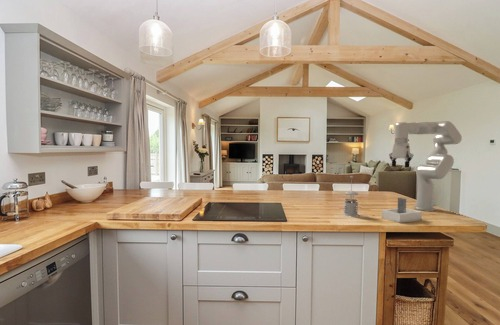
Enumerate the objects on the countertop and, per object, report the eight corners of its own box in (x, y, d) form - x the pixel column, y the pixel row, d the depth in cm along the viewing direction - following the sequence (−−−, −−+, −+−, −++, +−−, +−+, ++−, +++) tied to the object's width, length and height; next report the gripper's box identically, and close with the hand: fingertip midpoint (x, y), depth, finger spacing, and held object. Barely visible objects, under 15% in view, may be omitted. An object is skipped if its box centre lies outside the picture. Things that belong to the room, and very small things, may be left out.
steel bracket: (404, 215, 161) (405, 197, 160) (410, 217, 157) (411, 198, 156) (392, 217, 157) (393, 198, 157) (398, 218, 153) (398, 199, 153)
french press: (341, 215, 164) (342, 175, 163) (344, 211, 174) (345, 174, 173) (358, 217, 160) (359, 176, 159) (360, 213, 170) (361, 175, 169)
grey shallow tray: (403, 215, 166) (403, 207, 166) (421, 220, 155) (421, 211, 154) (381, 217, 159) (382, 209, 159) (399, 222, 148) (399, 214, 148)
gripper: (417, 140, 167) (416, 167, 167) (393, 141, 183) (393, 166, 184) (409, 140, 164) (408, 167, 165) (385, 141, 180) (385, 166, 181)
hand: (400, 167), depth 174 cm, fingers open, 9 cm apart
